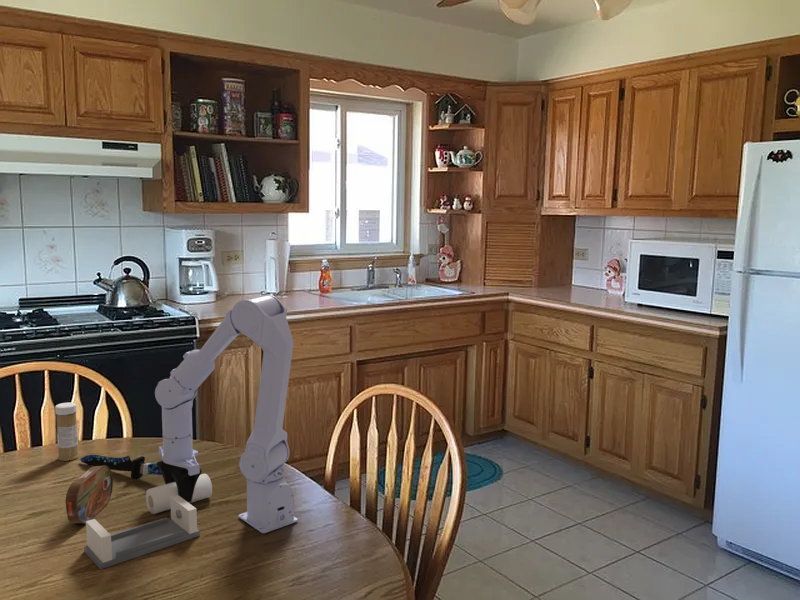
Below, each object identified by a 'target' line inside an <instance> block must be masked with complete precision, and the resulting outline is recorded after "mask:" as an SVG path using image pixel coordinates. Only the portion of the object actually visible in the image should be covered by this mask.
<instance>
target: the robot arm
mask: <svg viewBox="0 0 800 600" xmlns="http://www.w3.org/2000/svg"><path fill="white" fill-rule="evenodd" d="M287 315H288V309H287V308H286V306H285V305H284V304H283V303H282V302H281V301H280V299H279V298H277V297H276V295H272V294H261V295H259V296H257V297H255V298H250V299H243V300H239V301H238V302H236V303H235V304H234V305H233V307H232V308H231V309H230V310H228V311H227V312H226V313H225V315H224V318H223V319H222V321H221V322H220V323H219V324H218V326H217V327H216V329H215V330H214V331H213V332H212V334H211V335H210V336H209V338H208V339H207V340H206V342H205V343H204V344H203V346H202V347H201V348H200V349H192V350H190V351H186V352H185V353H184V354H183V355H182V358H183V360H182V361H181V362H180V364H179V365H178V366H177V367H176V368H174V369H172V370H171V371H170V372H169V374H170V376H169V378H164V379H162V380H160V381H158V382H157V385H156V386H155V389H154V396H155V400H156V401H157V403H158V405H160V406H161V422H162V423H161V425H162V427H161V429H162V446H158V457H161V460H160V461H157V462H155V463H156V464H157V467H158V468H159V470H160V471H161V473H162V475H161V476H162V478H163V481H164V485H165V484H169V483H173V482H176V485H177V489H178V495H179V496H180V497H181V498H183V499H184V500H185V501H187V502H188V503H189V502H191V500H192V496H193V492H194V488H195V485H196V482H197V480H198V478H199V476H200V475H201V474H202V468H201V467H200V464H199V463H198V462H197V459H196V457H197V456H199V451H198V450H196V449H194V447H193V445H194V444H193V441H194V440H193V415H192V414H193V412H192V411H193V410H192V408H193V407H194V406H193V404H194V399H195V398H196V397H197V395H198V388H200V387H201V385H202V384H203V383H204V382H205V380H206V379H207V378H208V377H209V376H210V375H211V374H212V372H213V371H214V370H215V368H216V363H215V362H216V361H215V360H216V358H218V356H220V354H222V353H223V351H224V350H225V349H227V348H228V346H230V344H231V343H232V342H233V341H234V340H236V338H237V337H238V336H239V335H240V334H243V335H244V336H246V337H247V338H249V339H250V340H252V341H253V342H254V343H255V344H257V345H258V346H259V347H260V349H261V350H262V351H263V354H262V363H261V371H260V377H259V386H258V394H257V402H256V403H257V404H256V409H255V418H254V426H253V430H252V432H251V434H249V435H250V436H249V437H248V439H247V440H246V444H245V449H244V451H243V453H242V454H241V456H240V458H239V465H238V466H239V469H240V472H241V474H242V475H243V476H244V477H245V481H246V507H247V508H246V511H245V512H242V513H239V514H238V518H239V519H241V520H242V521H244V522H246V523H247V524H248V525H250V526H251V527H252V528H254V529H255V530H257V531H258V532H260V533H261V534H266V533H269V532H273V531H274V530H277V529H280V528H283V527H286V526H288V525H292V524H293V523H297V522H298V518H297V517H295V508H294V507H295V500H294V499H295V496H294V495H295V494H294V490H293V488H292V486H290V485H289V484H288V483H287V481H286V478H285V463H286V462H287V461H288V460H289V458H290V453H291V452H290V448H289V447H290V446H289V444H288V432H286V431H285V430H284V429H283V427H284V419H285V418H284V417H285V412H286V404H287V395H288V387H289V381H290V374H291V365H292V359H293V351H294V338H293V335H292V332H291V328H290V325H289V322H288V319H287Z"/></svg>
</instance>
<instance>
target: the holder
mask: <svg viewBox="0 0 800 600" xmlns="http://www.w3.org/2000/svg"><path fill="white" fill-rule="evenodd" d="M170 504H171V509H170V519H169V518H168V517H167V516H166V517H163V518H159V519H157V520H154V521H150V522H146V523H144V524H140V525H137V526H134V527H133V526H132V527H131V528H127V529H123V530H121V531H118V532H115V533H110V532H109V531H107V529H106V528H105V527H103V526H102V524H100V522H99V521H97V519H96V518H93V519H92V520H89V521H86V524H85V531H86V532H85V533H86V545H85V546H84V547H83V550H84V553H85V554H86V555H87V556H88V558H89V559H90V560H91V561H92V562H93V563H94V564H95V566H96V567H98V569H99V570H103V569H106V568H109V567H112V566H115V565H118V564H120V563H123V562H127V561H129V560H132V559H136V558H138V557H141V556H143V555H144V556H145V555H148V554H150V553H153V552H156V551H158V550H163V549H165V548H168V547H171V546H173V545H177V544H179V543H183V542H186V541H189V540H192V539H194V538H198V537H200V535H201V532H200V529H198V515H197V514H198V513H197V511H198V510H197V508H196V507H195V506H193V505H192V504H191V503H188V502H187V501H185V500H184V499H183V498H181V497H180V496H179V495H175V496H172V497H170Z"/></svg>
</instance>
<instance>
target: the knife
mask: <svg viewBox="0 0 800 600" xmlns="http://www.w3.org/2000/svg"><path fill="white" fill-rule="evenodd" d="M145 460H146V457H145V456H143V455H141V456H140V457H136V458H134V459H133V460H132V459H131V456H130V455H127V456H123V457H112V456H105V455H101V454H100V455H99V454H88V455H85V456H82V458H81V459H80V462H82V463H83V464H85V465H87V464H89V465H88V466H91V465H93V466H92V467H94V466H103V465H106V466H108V467H109V468H110V470H111V471H120V472H130V479H132V480H134V479H136V478H139V477H141V476H143V474H144V475H152V476H153V475H155V476H162V473H161V471H160V470H159V468H158V467H157V464H156V463H157V462H145Z"/></svg>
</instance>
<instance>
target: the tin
mask: <svg viewBox="0 0 800 600" xmlns="http://www.w3.org/2000/svg"><path fill="white" fill-rule="evenodd" d="M113 481H114V480H113V473H112V470H110V468H109V467H108V466H106V465H103V466H90V468H88V469H87V470H85V472H83V473H82V474H81V475H80V476H79V477H78V478H77V479H75V480H74V481H73V482H72V483H71V484H70V485H69V487H68V489H67V492H66V496H65V509H66V515H67V516H66V517H67V520H68V521H69V522H70V523H72V524H85V525H86V521H89V520H92V519H95V517H96V516H97V515H98V514H99V513H100V512H101V511H102V510H103V509H104V508H105V507H106V506H107V505H108V503H109V502H110V500H111V497H112V493H113V488H114V487H113V486H114V485H113V484H114V482H113Z"/></svg>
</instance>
